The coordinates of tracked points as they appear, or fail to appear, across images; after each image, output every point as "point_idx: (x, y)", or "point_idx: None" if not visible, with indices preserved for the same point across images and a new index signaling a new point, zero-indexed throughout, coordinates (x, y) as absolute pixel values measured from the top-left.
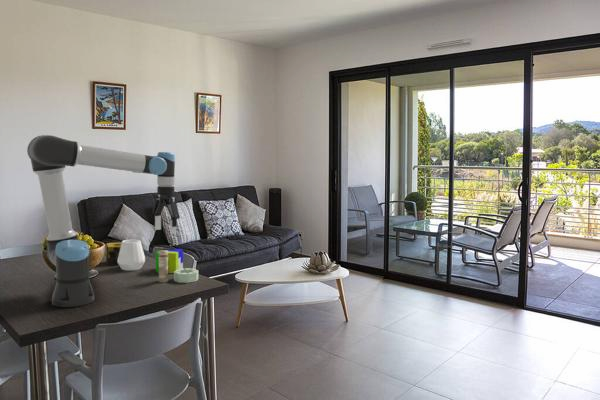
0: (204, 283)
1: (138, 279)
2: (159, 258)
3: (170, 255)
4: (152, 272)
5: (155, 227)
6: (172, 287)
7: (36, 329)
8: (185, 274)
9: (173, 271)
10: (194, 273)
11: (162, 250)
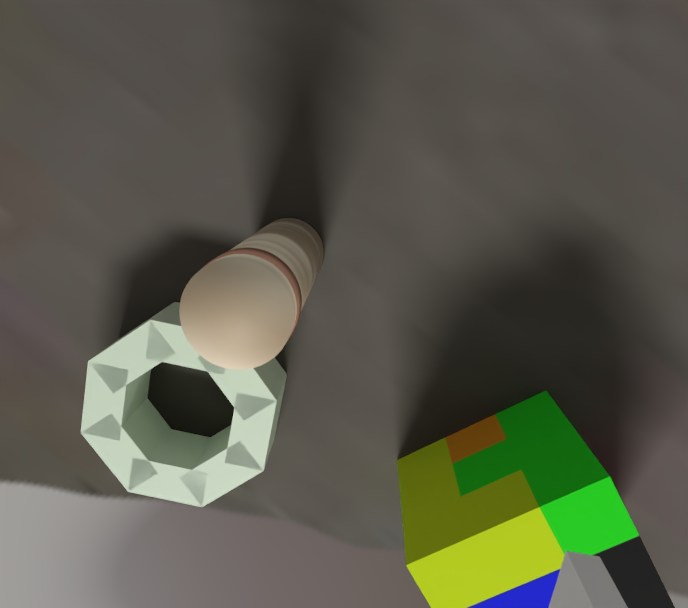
0: (26, 400)
1: (484, 156)
2: (258, 247)
3: (455, 526)
4: (564, 367)
5: (595, 588)
6: (98, 182)
7: None
8: (106, 349)
9: (415, 458)
10: (84, 415)
11: (277, 335)
